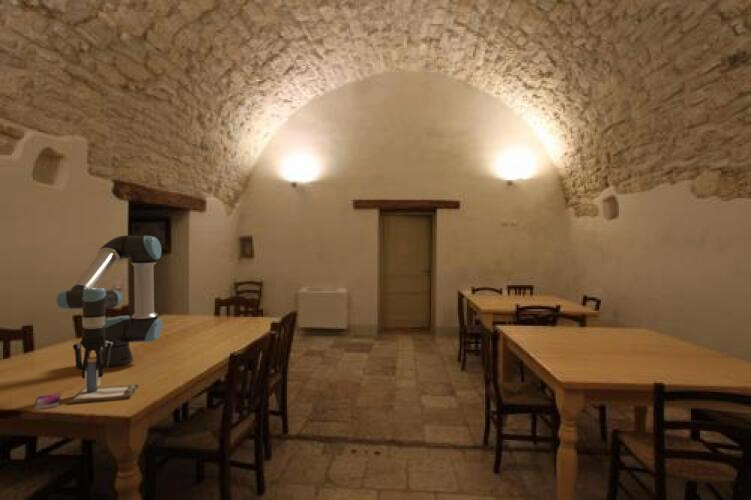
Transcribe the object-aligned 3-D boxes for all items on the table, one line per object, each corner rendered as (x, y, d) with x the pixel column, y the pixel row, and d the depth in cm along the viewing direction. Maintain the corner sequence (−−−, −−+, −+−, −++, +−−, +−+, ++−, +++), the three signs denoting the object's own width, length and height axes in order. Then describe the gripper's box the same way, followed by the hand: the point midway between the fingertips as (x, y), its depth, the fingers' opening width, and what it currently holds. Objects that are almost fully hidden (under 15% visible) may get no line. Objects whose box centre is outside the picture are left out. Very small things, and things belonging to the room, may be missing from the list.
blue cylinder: (88, 389, 162) (89, 356, 162) (98, 389, 163) (99, 355, 163) (85, 393, 158) (85, 358, 158) (95, 392, 160) (96, 358, 160)
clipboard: (81, 391, 163) (82, 386, 163) (138, 387, 170) (138, 382, 170) (68, 404, 150) (68, 399, 150) (129, 398, 156) (129, 393, 156)
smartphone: (33, 409, 144) (37, 396, 156) (33, 412, 144) (37, 398, 156) (59, 404, 148) (61, 392, 160) (59, 407, 148) (61, 394, 160)
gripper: (65, 329, 155) (64, 390, 155) (114, 327, 160) (112, 387, 160) (73, 326, 162) (72, 384, 162) (119, 324, 167) (118, 381, 167)
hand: (92, 385), depth 161 cm, fingers closed on blue cylinder, 3 cm apart
